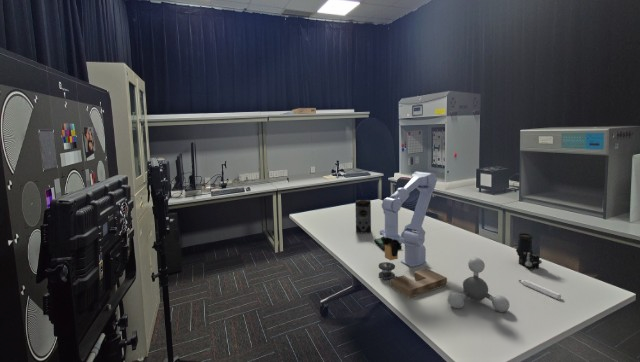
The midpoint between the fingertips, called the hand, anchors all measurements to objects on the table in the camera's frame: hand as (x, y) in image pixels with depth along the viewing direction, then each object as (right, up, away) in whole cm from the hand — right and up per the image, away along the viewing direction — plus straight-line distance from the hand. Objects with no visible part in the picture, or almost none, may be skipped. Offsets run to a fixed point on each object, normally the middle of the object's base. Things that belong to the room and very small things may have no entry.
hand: (391, 254), depth 146 cm
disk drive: (+5, -4, +35) cm, 35 cm away
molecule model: (+26, -12, -28) cm, 40 cm away
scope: (+62, -6, +3) cm, 62 cm away
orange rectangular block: (0, -2, 0) cm, 2 cm away
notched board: (+8, -10, -12) cm, 18 cm away
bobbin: (-3, -9, -3) cm, 10 cm away
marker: (+52, -10, -19) cm, 57 cm away
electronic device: (-4, 0, +60) cm, 60 cm away
